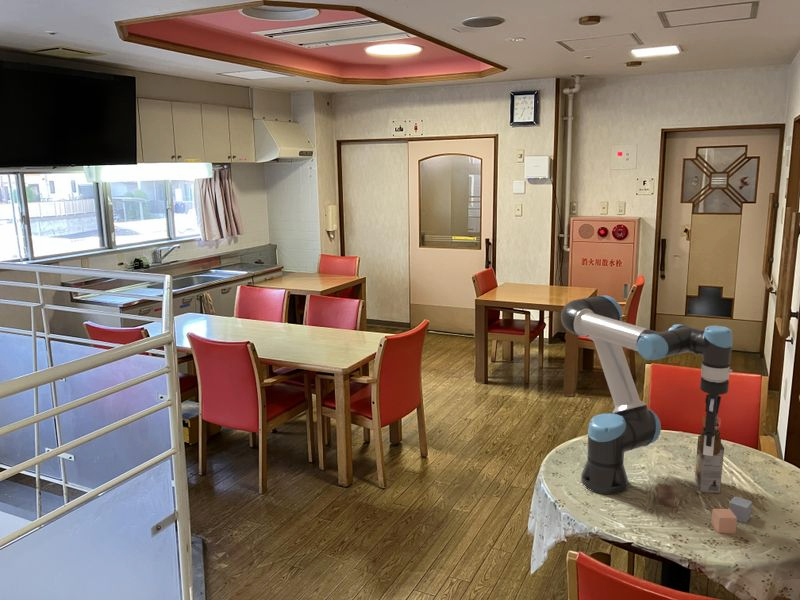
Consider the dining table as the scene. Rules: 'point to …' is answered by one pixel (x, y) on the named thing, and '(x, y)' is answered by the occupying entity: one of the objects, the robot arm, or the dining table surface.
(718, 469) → the coffee box
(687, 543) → the dining table surface
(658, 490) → the walnut block
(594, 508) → the dining table surface
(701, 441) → the utensil holder
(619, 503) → the dining table surface
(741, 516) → the slate block
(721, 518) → the terracotta block
